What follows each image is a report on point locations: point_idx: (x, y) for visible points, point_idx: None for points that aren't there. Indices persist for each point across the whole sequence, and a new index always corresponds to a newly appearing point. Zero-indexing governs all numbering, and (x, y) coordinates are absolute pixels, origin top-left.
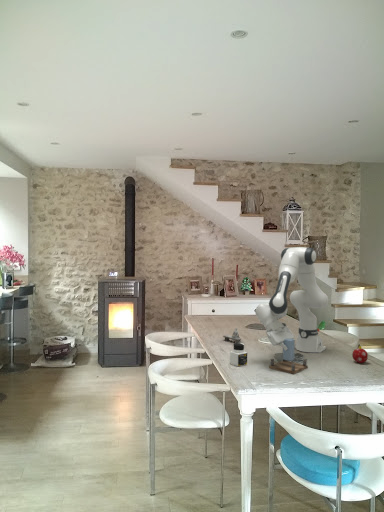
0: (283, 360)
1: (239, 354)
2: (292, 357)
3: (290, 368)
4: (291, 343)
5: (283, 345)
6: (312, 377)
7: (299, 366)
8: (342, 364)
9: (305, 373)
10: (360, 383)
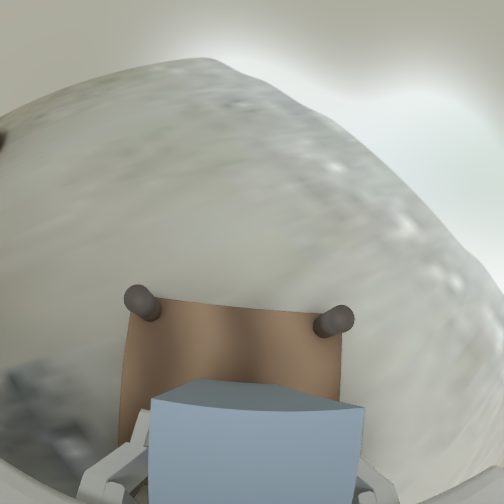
0: (147, 476)
1: None
2: (232, 382)
3: (292, 364)
4: (302, 401)
5: (370, 474)
6: (304, 214)
7: (196, 334)
8: (10, 184)
9: (262, 269)
10: (236, 79)
